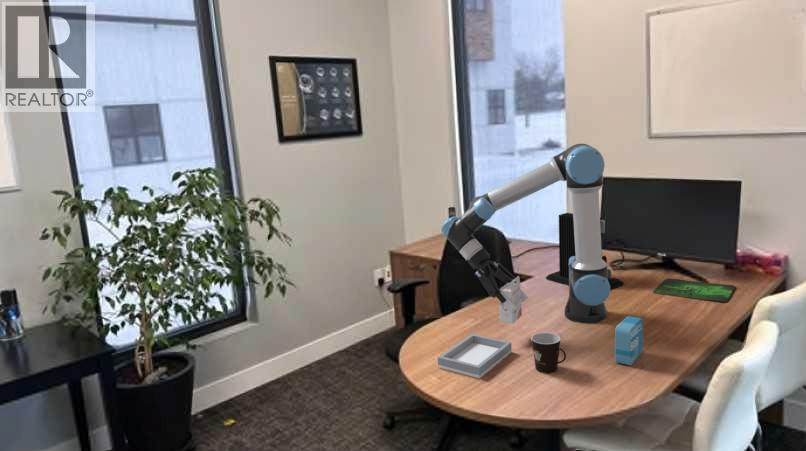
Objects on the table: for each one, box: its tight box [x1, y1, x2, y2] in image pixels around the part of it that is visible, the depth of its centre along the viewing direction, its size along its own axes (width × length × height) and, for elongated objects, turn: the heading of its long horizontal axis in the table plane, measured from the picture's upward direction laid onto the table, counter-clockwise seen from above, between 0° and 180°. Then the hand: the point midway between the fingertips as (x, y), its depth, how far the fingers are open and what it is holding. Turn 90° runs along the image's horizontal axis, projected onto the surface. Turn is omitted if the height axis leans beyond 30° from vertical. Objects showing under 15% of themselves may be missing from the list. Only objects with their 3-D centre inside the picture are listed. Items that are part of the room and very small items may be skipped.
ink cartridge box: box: [498, 275, 523, 325], centre depth 196 cm, size 9×5×15 cm, turn 148°
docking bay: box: [437, 333, 513, 379], centre depth 185 cm, size 15×21×4 cm
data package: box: [614, 315, 644, 366], centre depth 177 cm, size 12×4×12 cm, turn 140°
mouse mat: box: [652, 278, 737, 304], centre depth 233 cm, size 27×22×1 cm
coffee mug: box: [530, 332, 567, 374], centre depth 173 cm, size 12×9×10 cm
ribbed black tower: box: [545, 212, 625, 291], centre depth 251 cm, size 30×19×30 cm, turn 34°
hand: (518, 304), depth 194 cm, fingers closed on ink cartridge box, 9 cm apart
